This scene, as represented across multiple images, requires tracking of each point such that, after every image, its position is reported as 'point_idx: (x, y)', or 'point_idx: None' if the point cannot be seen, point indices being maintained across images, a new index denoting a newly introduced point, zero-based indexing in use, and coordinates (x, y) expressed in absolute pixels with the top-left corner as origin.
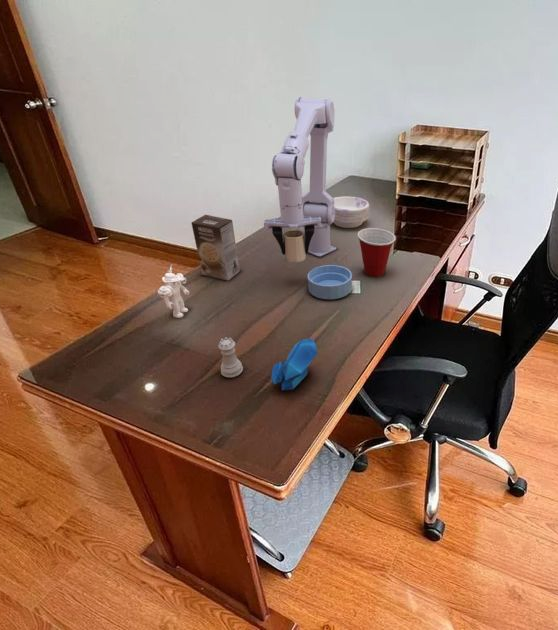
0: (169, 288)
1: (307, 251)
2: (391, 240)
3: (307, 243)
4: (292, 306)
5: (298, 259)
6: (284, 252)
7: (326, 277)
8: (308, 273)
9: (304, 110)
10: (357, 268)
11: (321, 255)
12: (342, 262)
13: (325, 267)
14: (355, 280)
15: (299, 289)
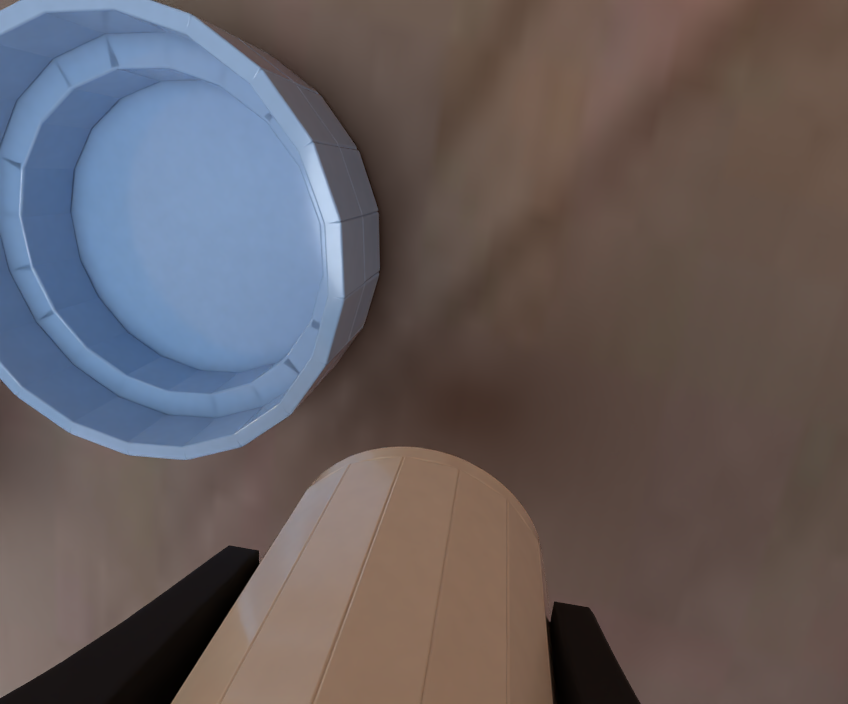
0: None
1: (217, 557)
2: None
3: (109, 659)
4: (561, 12)
5: (381, 464)
6: (565, 625)
7: (213, 379)
8: (327, 344)
9: None
10: (19, 482)
11: None
12: (115, 583)
13: (170, 437)
14: None
15: (451, 302)
